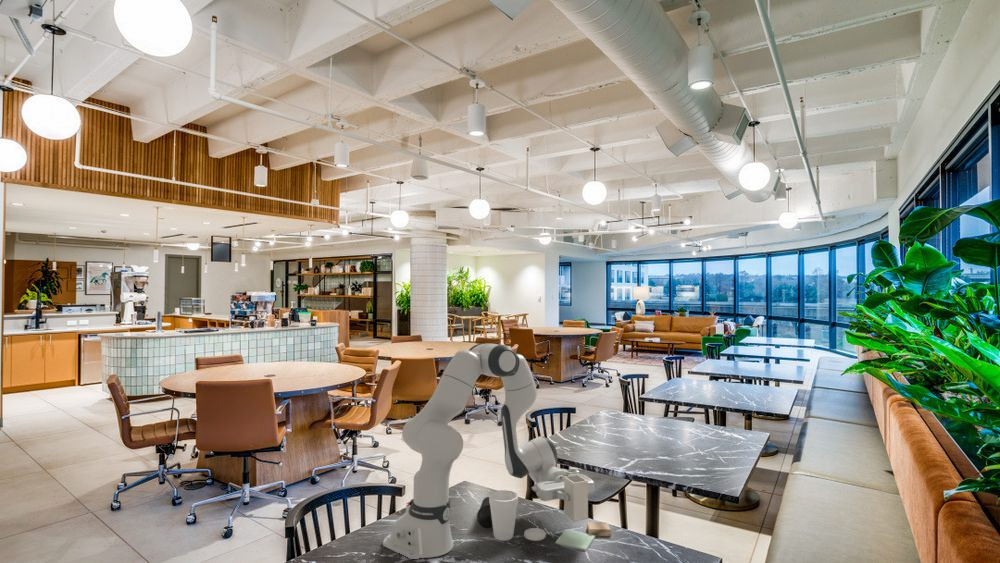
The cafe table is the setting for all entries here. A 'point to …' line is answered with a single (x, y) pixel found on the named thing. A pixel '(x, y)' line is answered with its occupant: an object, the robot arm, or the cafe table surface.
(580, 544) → the mat
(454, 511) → the cafe table surface
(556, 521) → the cafe table surface
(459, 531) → the cafe table surface
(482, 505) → the drinking cup
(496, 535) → the foam cup
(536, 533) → the white pebble stone
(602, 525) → the oak block
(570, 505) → the canister
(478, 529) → the cafe table surface
